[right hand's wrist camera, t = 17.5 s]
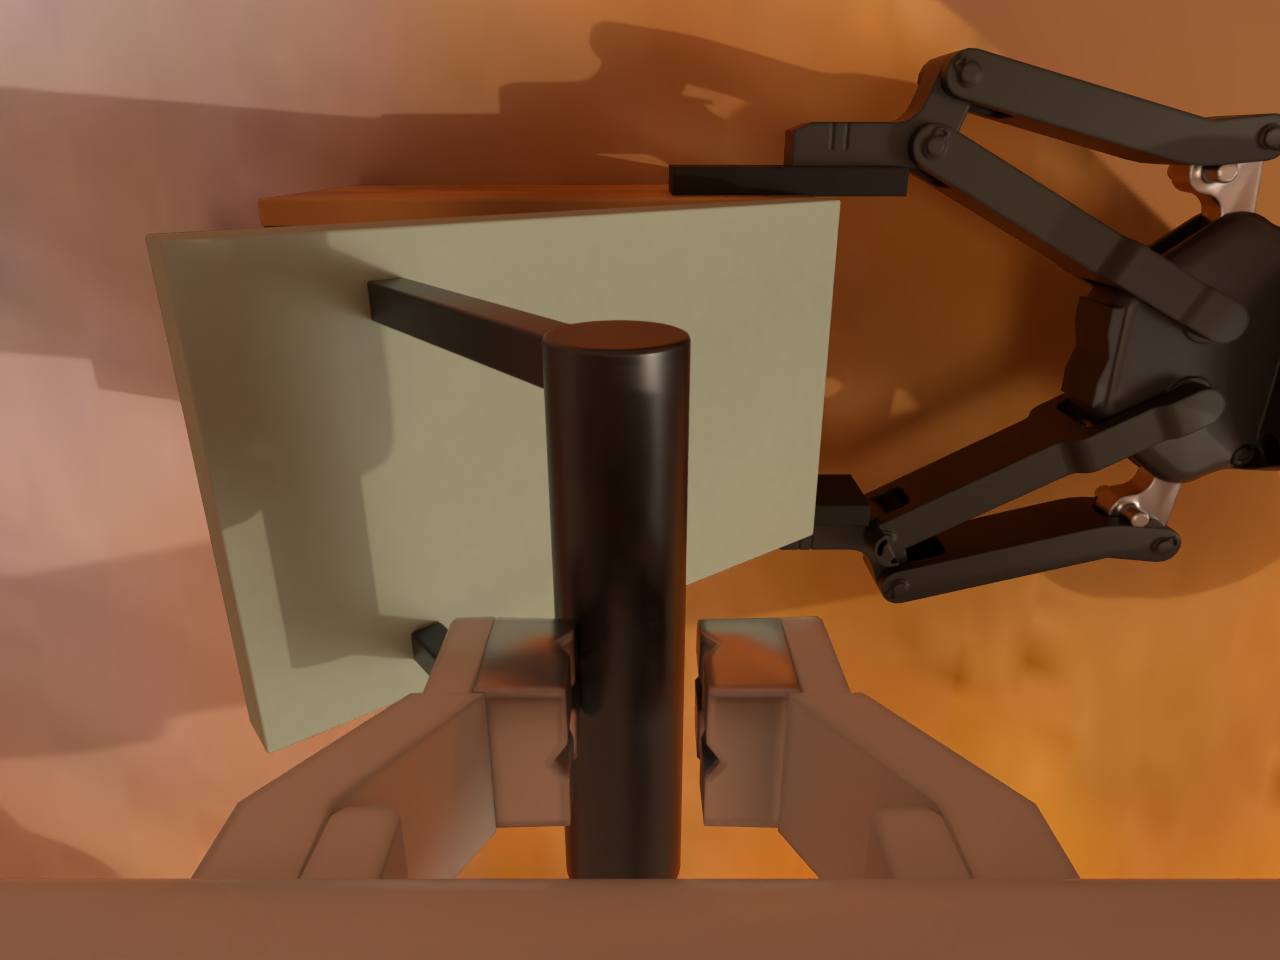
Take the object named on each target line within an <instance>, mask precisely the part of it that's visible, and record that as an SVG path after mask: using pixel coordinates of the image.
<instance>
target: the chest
mask: <svg viewBox="0 0 1280 960" xmlns="http://www.w3.org/2000/svg"><path fill="white" fill-rule="evenodd" d="M789 198H815V197H812V196H808V195H681V196H672V194H671V193H670V192H669V184H548V185H355V186H348V187H341V188H334V189H327V190H320V191H313V192H305V193H298V194H291V195H284V196H277V197H270V198H263V199H259V200H258V206H259V213H260V219H261V224H262V226H265V227H263V228H269V227H286V226H304V225H322V224H340V223H358V222H376V221H394V220H412V219H430V218H448V217H466V216H484V215H502V214H520V213H538V212H556V211H574V210H592V209H609V208H627V207H645V206H663V205H681V204H699V203H717V202H735V201H753V200H771V199H789Z"/></svg>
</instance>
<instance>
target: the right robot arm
mask: <svg viewBox="0 0 1280 960" xmlns="http://www.w3.org/2000/svg"><path fill="white" fill-rule="evenodd" d="M578 653H579V651H578V630H577V619H563V618H511V617H498V618H497V619H496V618H495V617H457V618H455V619H454V620H453V621H452V622H451V624H450V626H449V629H448V631H447V634H446V636H445V639H444V641H443V644H442V646H441V649H440V651H439V653H438V656H437V658H436V661H435V663H434V666H433V668H432V671H431V673H430V676H429V678H428V681H427V683H426V686H425V688H424V691H423V693H410V694H408V695H407V696H405V697H404V698H402V699H401V700H399V701H397V702H396V703H394V704H393V705H391V706H390V707H388V708H386V709H385V710H383V711H382V712H380V713H379V714H377V715H375V716H374V717H372V718H371V719H369V720H368V721H366V722H364V723H363V724H361V725H360V726H358V727H357V728H355V729H353V730H352V731H350V732H349V733H347V734H346V735H344V736H342V737H341V738H339V739H338V740H336V741H335V742H333V743H331V744H330V745H328V746H327V747H325V748H324V749H322V750H320V751H319V752H317V753H316V754H314V755H312V756H311V757H309V758H308V759H306V760H305V761H303V762H301V763H300V764H298V765H297V766H295V767H294V768H292V769H290V770H289V771H287V772H286V773H284V774H283V775H281V776H279V777H278V778H276V779H275V780H273V781H272V782H270V783H268V784H267V785H265V786H264V787H262V788H261V789H259V790H257V791H256V792H254V793H253V794H251V795H250V796H248V797H246V798H245V799H243V800H242V801H240V802H239V803H237V805H236V807H235V808H234V810H233V812H232V813H231V815H230V816H229V818H228V820H227V821H226V823H225V824H224V826H223V828H222V829H221V831H220V832H219V834H218V836H217V837H216V839H215V841H214V842H213V844H212V845H211V847H210V849H209V850H208V852H207V853H206V855H205V857H204V858H203V860H202V862H201V863H200V865H199V866H198V868H197V870H196V871H195V873H194V874H193V876H192V878H191V879H0V960H1280V879H1080V877H1079V875H1078V874H1077V872H1076V870H1075V869H1074V867H1073V865H1072V864H1071V862H1070V860H1069V859H1068V857H1067V855H1066V854H1065V852H1064V850H1063V849H1062V847H1061V845H1060V844H1059V842H1058V840H1057V839H1056V837H1055V835H1054V834H1053V832H1052V831H1051V829H1050V827H1049V826H1048V824H1047V822H1046V821H1045V819H1044V817H1043V816H1042V814H1041V812H1040V811H1039V809H1038V807H1037V806H1036V804H1035V803H1033V802H1031V801H1030V800H1028V799H1027V798H1025V797H1024V796H1022V795H1021V794H1019V793H1017V792H1016V791H1014V790H1013V789H1011V788H1010V787H1008V786H1007V785H1005V784H1004V783H1002V782H1000V781H999V780H997V779H996V778H994V777H993V776H991V775H990V774H988V773H986V772H985V771H983V770H982V769H980V768H979V767H977V766H976V765H974V764H972V763H971V762H969V761H968V760H966V759H965V758H963V757H962V756H960V755H958V754H957V753H955V752H954V751H952V750H951V749H949V748H948V747H946V746H944V745H943V744H941V743H940V742H938V741H937V740H935V739H934V738H932V737H930V736H929V735H927V734H926V733H924V732H923V731H921V730H920V729H918V728H916V727H915V726H913V725H912V724H910V723H909V722H907V721H906V720H904V719H903V718H901V717H899V716H898V715H896V714H895V713H893V712H892V711H890V710H889V709H887V708H885V707H884V706H882V705H881V704H879V703H878V702H876V701H875V700H873V699H871V698H870V697H868V696H867V695H865V694H864V693H851V691H850V689H849V686H848V684H847V681H846V679H845V676H844V674H843V671H842V669H841V666H840V664H839V661H838V659H837V656H836V654H835V651H834V648H833V646H832V643H831V641H830V638H829V636H828V633H827V631H826V628H825V626H824V623H823V621H822V619H820V618H819V617H817V616H812V617H788V618H746V619H705V620H698V623H697V639H696V654H697V664H698V675H699V677H698V678H697V679H696V680H695V735H696V748H697V757H698V758H699V759H700V791H701V801H702V810H703V820H704V826H734V827H771V828H778V832H779V833H780V834H781V835H782V836H783V837H784V838H785V840H786V841H787V842H788V843H789V844H790V845H791V846H792V848H793V849H794V850H795V851H796V852H797V853H798V854H799V856H800V857H801V858H802V859H803V860H804V861H805V862H806V864H807V865H808V866H809V867H810V868H811V869H812V870H813V872H814V873H815V874H816V875H817V876H818V877H819V878H820V879H455V878H456V876H457V875H458V874H459V873H460V872H461V871H462V870H463V869H464V867H465V866H466V865H467V864H468V863H469V862H470V861H471V860H472V858H473V857H474V856H475V855H476V854H477V853H478V852H479V851H480V849H481V848H482V847H483V846H484V845H485V844H486V843H487V841H488V840H489V839H490V838H491V837H492V836H493V835H494V834H495V832H496V828H503V827H538V826H570V823H571V814H572V805H573V796H574V787H575V769H574V760H575V759H576V758H577V757H578V747H579V731H580V683H579V681H578V679H577V678H576V671H577V662H578Z"/></svg>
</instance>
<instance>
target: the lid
mask: <svg viewBox="0 0 1280 960" xmlns="http://www.w3.org/2000/svg"><path fill="white" fill-rule="evenodd" d="M839 214H840V200H836V199H819V198H789V199H771V200H753V201H735V202H717V203H699V204H681V205H663V206H645V207H627V208H609V209H592V210H574V211H556V212H538V213H520V214H502V215H484V216H466V217H448V218H430V219H412V220H394V221H376V222H358V223H340V224H322V225H304V226H286V227H269V228H251V229H233V230H215V231H197V232H179V233H161V234H148V235H146V237H145V239H146V243H147V248H148V253H149V257H150V262H151V267H152V271H153V276H154V280H155V285H156V290H157V294H158V299H159V303H160V308H161V313H162V317H163V322H164V326H165V331H166V336H167V340H168V345H169V349H170V354H171V359H172V363H173V368H174V373H175V377H176V382H177V386H178V391H179V396H180V400H181V405H182V409H183V414H184V419H185V423H186V428H187V432H188V437H189V442H190V446H191V451H192V455H193V460H194V465H195V469H196V474H197V479H198V483H199V488H200V492H201V497H202V502H203V506H204V511H205V515H206V520H207V525H208V529H209V534H210V538H211V543H212V548H213V552H214V557H215V561H216V566H217V571H218V575H219V580H220V584H221V589H222V594H223V598H224V603H225V608H226V612H227V617H228V621H229V626H230V631H231V635H232V640H233V644H234V649H235V654H236V658H237V663H238V667H239V672H240V677H241V681H242V686H243V690H244V695H245V700H246V704H247V709H248V714H249V718H250V722H251V724H252V725H253V727H254V729H255V731H256V733H257V735H258V737H259V738H260V740H261V742H262V744H263V746H264V748H265V749H266V751H267V752H268V753H272V752H275V751H277V750H280V749H282V748H285V747H287V746H290V745H292V744H295V743H297V742H300V741H302V740H305V739H307V738H310V737H312V736H315V735H317V734H320V733H322V732H324V731H327V730H329V729H332V728H334V727H337V726H339V725H342V724H344V723H347V722H349V721H352V720H354V719H357V718H359V717H362V716H364V715H367V714H369V713H372V712H374V711H377V710H379V709H382V708H384V707H386V706H389V705H391V704H394V703H396V702H397V701H399V700H401V699H402V698H404V697H405V696H407V695H408V694H410V693H421V692H423V691H424V688H425V686H426V683H427V681H428V678H429V676H430V673H431V671H432V668H433V666H434V663H435V661H436V658H437V656H438V653H439V651H440V649H441V646H442V644H443V641H444V639H445V636H446V634H447V631H448V629H449V626H450V624H451V622H452V621H453V620H454V619H455V618H457V617H495V618H496V619H497V618H498V617H511V618H563V619H577V630H578V651H579V653H578V662H577V671H576V678H577V679H578V681H579V683H580V731H579V747H578V757H577V758H576V759H575V760H574V769H575V787H574V796H573V805H572V814H571V823H570V826H565V845H566V866H567V873H568V876H569V879H677V876H678V874H679V870H680V853H681V804H682V754H683V704H684V655H685V605H686V586H687V585H689V584H691V583H694V582H696V581H699V580H701V579H704V578H706V577H709V576H711V575H714V574H716V573H719V572H721V571H724V570H726V569H729V568H731V567H734V566H736V565H739V564H741V563H744V562H746V561H748V560H751V559H753V558H756V557H758V556H761V555H763V554H766V553H768V552H771V551H773V550H776V549H778V548H781V547H783V546H786V545H788V544H791V543H793V542H796V541H798V540H801V539H803V538H806V537H808V536H810V535H812V534H813V528H814V516H815V504H816V492H817V480H818V467H819V455H820V443H821V431H822V419H823V407H824V395H825V383H826V371H827V359H828V347H829V335H830V323H831V310H832V298H833V286H834V274H835V262H836V250H837V238H838V226H839Z"/></svg>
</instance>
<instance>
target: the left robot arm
mask: <svg viewBox="0 0 1280 960" xmlns="http://www.w3.org/2000/svg"><path fill="white" fill-rule="evenodd" d="M967 113H971V114H974V115H977V116H981V117H984V118H988V119H991V120H994V121H998V122H1001V123H1005V124H1008V125H1011V126H1015V127H1018V128H1022V129H1025V130H1028V131H1032V132H1035V133H1038V134H1042V135H1045V136H1049V137H1052V138H1055V139H1059V140H1062V141H1066V142H1069V143H1072V144H1076V145H1079V146H1083V147H1086V148H1089V149H1093V150H1096V151H1099V152H1103V153H1106V154H1110V155H1113V156H1117V157H1120V158H1123V159H1127V160H1131V161H1136V162H1140V163H1150V164H1169V168H1168V170H1167V173H1168V176H1169V178H1170V179H1171V180H1172V183H1173V185H1174V186H1175V187H1176V188H1177V189H1178V190H1180V191H1184V192H1189V193H1192V194H1194V195H1196V196H1197V197H1198V199H1199V200H1200V202H1201V206H1202V212H1201V213H1200V214H1198V215H1196V216H1194V217H1192V218H1191V219H1189V220H1188V221H1186V222H1185V223H1183V224H1182V225H1180V226H1178V227H1177V228H1175V229H1174V230H1172V231H1171V232H1169V233H1167V234H1166V235H1164V236H1163V237H1161V238H1160V239H1158V240H1157V241H1155V242H1153V243H1152V244H1150V245H1149V246H1145V245H1143V244H1141V243H1139V242H1137V241H1135V240H1132V239H1130V238H1127V237H1125V236H1123V235H1121V234H1119V233H1118V232H1116V231H1115V230H1113V229H1112V228H1110V227H1108V226H1107V225H1105V224H1104V223H1102V222H1100V221H1099V220H1097V219H1096V218H1094V217H1093V216H1091V215H1089V214H1088V213H1086V212H1085V211H1083V210H1081V209H1080V208H1078V207H1077V206H1075V205H1074V204H1072V203H1070V202H1069V201H1067V200H1066V199H1064V198H1062V197H1061V196H1059V195H1058V194H1056V193H1055V192H1053V191H1051V190H1050V189H1048V188H1047V187H1045V186H1043V185H1042V184H1040V183H1039V182H1037V181H1036V180H1034V179H1032V178H1031V177H1029V176H1028V175H1026V174H1024V173H1023V172H1021V171H1020V170H1018V169H1017V168H1015V167H1013V166H1012V165H1010V164H1009V163H1007V162H1005V161H1004V160H1002V159H1001V158H999V157H998V156H996V155H994V154H993V153H991V152H990V151H988V150H986V149H985V148H983V147H982V146H980V145H979V144H977V143H975V142H974V141H972V140H971V139H969V138H968V137H966V136H964V135H963V134H961V133H960V132H959V130H960V127H961V125H962V123H963V121H964V119H965V117H966V115H967ZM1279 155H1280V114H1275V113H1274V114H1254V115H1235V116H1216V117H1207V118H1204V117H1201V116H1198V115H1194V114H1191V113H1188V112H1185V111H1181V110H1178V109H1175V108H1172V107H1168V106H1165V105H1162V104H1158V103H1155V102H1152V101H1149V100H1145V99H1142V98H1139V97H1135V96H1132V95H1129V94H1125V93H1122V92H1119V91H1116V90H1112V89H1109V88H1106V87H1102V86H1099V85H1096V84H1093V83H1089V82H1086V81H1083V80H1079V79H1076V78H1073V77H1069V76H1066V75H1063V74H1060V73H1056V72H1053V71H1049V70H1046V69H1043V68H1040V67H1036V66H1033V65H1030V64H1027V63H1023V62H1020V61H1017V60H1014V59H1010V58H1007V57H1004V56H1000V55H997V54H994V53H990V52H987V51H984V50H981V49H976V48H967V49H964V50H960V51H957V52H953V53H950V54H946V55H943V56H940V57H937V58H934V59H931V60H930V61H928V62H927V63H926V64H925V65H924V66H923V68H922V69H921V71H920V73H919V77H918V88H917V90H916V93H915V95H914V97H913V99H912V102H911V104H910V106H909V107H908V109H907V111H906V112H905V113H904V114H903V115H902V116H901V117H899V118H898V119H897V120H895V121H892V122H809V123H803V124H800V125H798V126H796V127H793V128H791V129H789V130H786V133H785V149H784V165H669V192H670V193H671V194H672V196H681V195H808V196H906V193H907V184H908V176H909V173H911V174H912V175H914V176H916V177H917V178H919V179H921V180H922V181H924V182H925V183H927V184H929V185H930V186H932V187H934V188H935V189H937V190H939V191H940V192H942V193H943V194H945V195H947V196H948V197H950V198H952V199H953V200H955V201H956V202H958V203H960V204H961V205H963V206H965V207H966V208H968V209H970V210H971V211H973V212H974V213H976V214H978V215H979V216H981V217H983V218H984V219H986V220H987V221H989V222H991V223H992V224H994V225H996V226H997V227H999V228H1001V229H1002V230H1004V231H1005V232H1007V233H1009V234H1010V235H1012V236H1014V237H1015V238H1017V239H1018V240H1020V241H1022V242H1023V243H1025V244H1027V245H1028V246H1030V247H1032V248H1033V249H1035V250H1036V251H1038V252H1040V253H1041V254H1043V255H1045V256H1046V257H1048V258H1050V259H1051V260H1053V261H1054V262H1056V263H1057V265H1058V266H1059V267H1060V268H1062V269H1064V270H1065V271H1067V272H1068V273H1070V274H1072V275H1073V276H1075V277H1077V278H1078V279H1080V280H1081V281H1083V282H1085V283H1086V284H1088V285H1090V286H1091V287H1092V289H1091V291H1090V292H1089V294H1088V296H1087V297H1079V302H1078V307H1077V312H1076V317H1075V329H1076V347H1075V349H1074V351H1073V353H1072V355H1071V357H1070V360H1069V362H1068V364H1067V366H1066V368H1065V373H1064V378H1063V383H1062V388H1061V391H1063V392H1065V393H1064V394H1062V395H1060V396H1058V397H1055V398H1053V399H1051V400H1049V401H1047V402H1045V403H1043V404H1041V405H1038V406H1037V407H1035V408H1033V409H1032V410H1031V411H1030V414H1029V416H1028V417H1027V418H1026V419H1024V420H1022V421H1020V422H1018V423H1016V424H1014V425H1012V426H1010V427H1007V428H1005V429H1003V430H1001V431H999V432H997V433H995V434H993V435H990V436H988V437H986V438H984V439H982V440H980V441H978V442H975V443H973V444H971V445H969V446H967V447H965V448H963V449H961V450H958V451H956V452H954V453H952V454H950V455H948V456H946V457H944V458H941V459H939V460H937V461H935V462H933V463H931V464H929V465H926V466H924V467H922V468H920V469H918V470H916V471H914V472H912V473H909V474H907V475H905V476H903V477H901V478H899V479H897V480H895V481H892V482H890V483H888V484H886V485H884V486H882V487H880V488H877V489H875V490H873V491H871V492H869V493H867V494H865V495H864V494H863V493H862V491H861V490H860V488H859V487H858V485H857V484H856V482H855V481H854V479H853V478H852V476H851V475H850V474H821V475H818V480H817V492H816V504H815V516H814V528H813V534H812V535H810V536H808V537H806V538H803V539H801V540H798V541H796V542H793V543H791V544H788V545H786V546H783V547H781V548H779V549H781V550H797V549H851V550H857V551H860V552H862V553H863V559H864V562H865V564H866V566H867V568H868V569H869V571H870V573H871V575H872V577H873V579H874V580H875V582H876V584H877V586H878V588H879V590H880V591H881V593H882V595H883V597H884V598H885V599H886V600H888V601H889V602H892V603H903V602H908V601H912V600H917V599H921V598H926V597H930V596H935V595H939V594H944V593H949V592H953V591H958V590H962V589H967V588H971V587H976V586H980V585H985V584H989V583H994V582H999V581H1003V580H1008V579H1012V578H1017V577H1021V576H1026V575H1030V574H1035V573H1040V572H1044V571H1049V570H1053V569H1058V568H1062V567H1067V566H1071V565H1076V564H1081V563H1085V562H1090V561H1094V560H1099V559H1103V558H1119V559H1130V560H1141V561H1153V562H1160V561H1165V560H1168V559H1170V558H1171V557H1173V556H1174V555H1175V554H1176V553H1177V551H1178V550H1179V548H1180V544H1181V539H1180V536H1179V535H1178V534H1177V533H1176V532H1175V531H1174V530H1173V529H1171V528H1170V527H1168V526H1167V523H1168V520H1169V517H1170V515H1171V512H1172V509H1173V506H1174V504H1175V501H1176V498H1177V496H1178V493H1179V490H1180V488H1181V485H1182V483H1186V482H1190V481H1193V480H1196V479H1198V478H1200V477H1202V476H1204V475H1207V474H1209V473H1212V472H1215V471H1218V470H1223V469H1246V470H1267V471H1280V227H1278V226H1276V225H1274V224H1272V223H1271V222H1269V221H1268V220H1267V219H1266V218H1264V217H1263V216H1261V215H1259V214H1256V213H1255V210H1256V204H1257V198H1258V192H1259V186H1260V180H1261V175H1262V169H1263V163H1264V161H1268V160H1271V159H1274V158H1276V157H1278V156H1279ZM1086 425H1088V427H1087V426H1086ZM1125 458H1128V459H1130V460H1131V461H1132V462H1133V463H1134V464H1136V465H1137V466H1138V467H1139V469H1138V471H1137V473H1136V475H1135V476H1134V477H1133V478H1132V479H1131V480H1129V481H1128V482H1126V483H1123V484H1119V485H1113V486H1110V487H1109V486H1107V485H1103V486H1100V487H1099V488H1097V489H1096V491H1095V497H1073V498H1065V499H1059V500H1054V501H1050V502H1046V503H1041V504H1037V505H1032V506H1028V507H1023V508H1019V509H1015V510H1010V511H1006V512H1001V513H997V514H993V515H988V516H984V517H979V518H975V519H972V518H974V517H976V516H979V515H981V514H983V513H985V512H987V511H990V510H992V509H994V508H996V507H998V506H1001V505H1003V504H1005V503H1007V502H1009V501H1012V500H1014V499H1016V498H1018V497H1020V496H1023V495H1025V494H1027V493H1029V492H1031V491H1034V490H1036V489H1038V488H1040V487H1043V486H1045V485H1047V484H1049V483H1051V482H1054V481H1056V480H1058V479H1060V478H1062V477H1065V476H1067V475H1069V474H1072V473H1092V472H1095V471H1098V470H1101V469H1103V468H1105V467H1108V466H1110V465H1112V464H1114V463H1116V462H1119V461H1121V460H1123V459H1125ZM970 519H971V520H970Z"/></svg>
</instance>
